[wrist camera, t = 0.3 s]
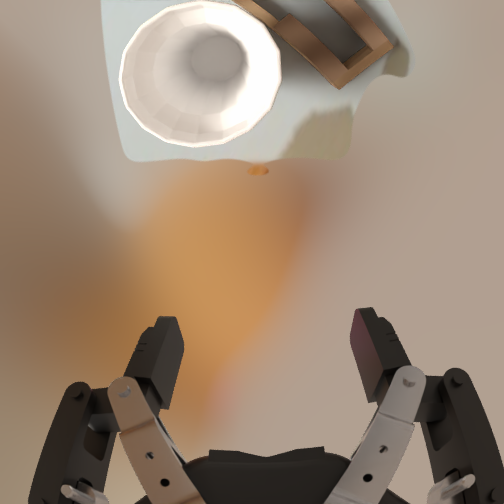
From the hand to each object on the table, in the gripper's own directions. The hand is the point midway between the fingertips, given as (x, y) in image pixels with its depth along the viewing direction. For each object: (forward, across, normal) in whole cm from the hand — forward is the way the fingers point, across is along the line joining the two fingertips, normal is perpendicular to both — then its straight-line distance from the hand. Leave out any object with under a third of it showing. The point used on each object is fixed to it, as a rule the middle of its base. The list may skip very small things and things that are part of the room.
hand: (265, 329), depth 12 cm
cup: (+26, +4, -18) cm, 32 cm away
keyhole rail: (+24, -6, -24) cm, 34 cm away
